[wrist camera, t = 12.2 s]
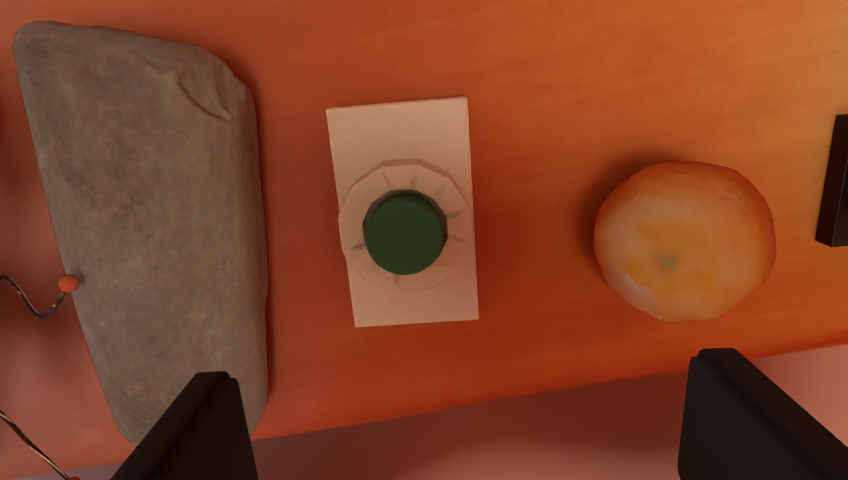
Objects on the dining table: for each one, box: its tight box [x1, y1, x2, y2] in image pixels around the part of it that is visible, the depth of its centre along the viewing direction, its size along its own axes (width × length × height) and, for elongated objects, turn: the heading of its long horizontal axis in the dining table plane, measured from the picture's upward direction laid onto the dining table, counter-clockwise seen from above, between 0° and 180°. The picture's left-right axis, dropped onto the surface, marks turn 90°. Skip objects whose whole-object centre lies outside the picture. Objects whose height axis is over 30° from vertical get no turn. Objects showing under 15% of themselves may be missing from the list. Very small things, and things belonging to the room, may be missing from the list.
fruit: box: [594, 161, 776, 323], centre depth 25 cm, size 8×8×8 cm
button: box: [365, 194, 442, 275], centre depth 24 cm, size 4×4×2 cm
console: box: [326, 96, 479, 327], centre depth 26 cm, size 12×7×4 cm, turn 5°
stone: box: [12, 21, 268, 447], centre depth 26 cm, size 24×7×10 cm
